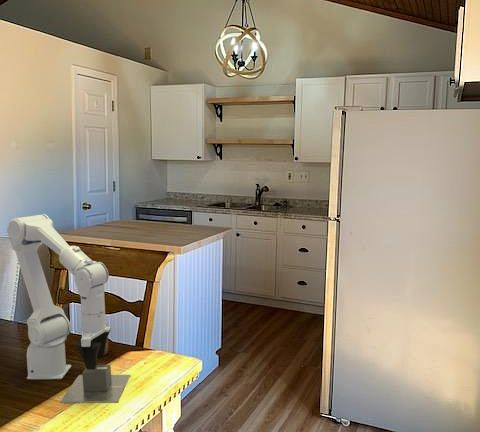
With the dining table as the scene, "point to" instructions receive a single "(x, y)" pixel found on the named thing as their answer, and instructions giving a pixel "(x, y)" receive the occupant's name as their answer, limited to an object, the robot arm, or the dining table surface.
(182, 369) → the dining table surface
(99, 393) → the grey flat square slab
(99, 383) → the striped grey block
